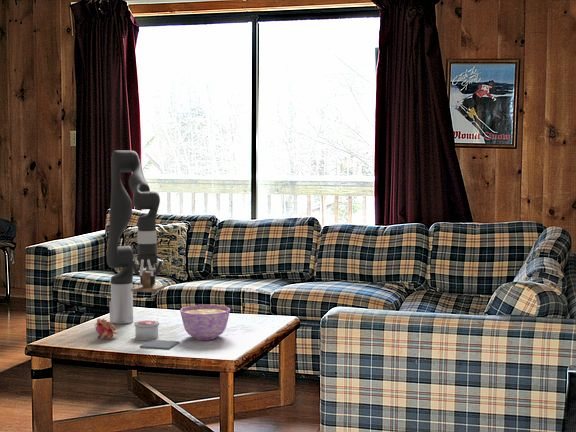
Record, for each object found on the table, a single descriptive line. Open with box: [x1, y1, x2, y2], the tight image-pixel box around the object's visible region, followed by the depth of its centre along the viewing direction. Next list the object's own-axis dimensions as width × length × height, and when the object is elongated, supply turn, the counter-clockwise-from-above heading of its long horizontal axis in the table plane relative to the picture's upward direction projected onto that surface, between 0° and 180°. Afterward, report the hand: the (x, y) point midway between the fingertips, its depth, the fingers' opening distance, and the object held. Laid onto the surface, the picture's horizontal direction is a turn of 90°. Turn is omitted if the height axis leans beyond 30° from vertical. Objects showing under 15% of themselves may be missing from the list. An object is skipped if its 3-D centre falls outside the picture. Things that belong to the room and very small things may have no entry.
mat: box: [139, 339, 180, 350], centre depth 323 cm, size 12×11×1 cm
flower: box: [94, 318, 119, 340], centre depth 334 cm, size 10×9×8 cm
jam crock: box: [133, 319, 160, 341], centre depth 336 cm, size 10×10×6 cm
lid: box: [131, 270, 165, 293], centre depth 332 cm, size 10×10×7 cm
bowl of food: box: [179, 304, 231, 341], centre depth 335 cm, size 20×20×12 cm
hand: (148, 285), depth 332 cm, fingers closed on lid, 3 cm apart
